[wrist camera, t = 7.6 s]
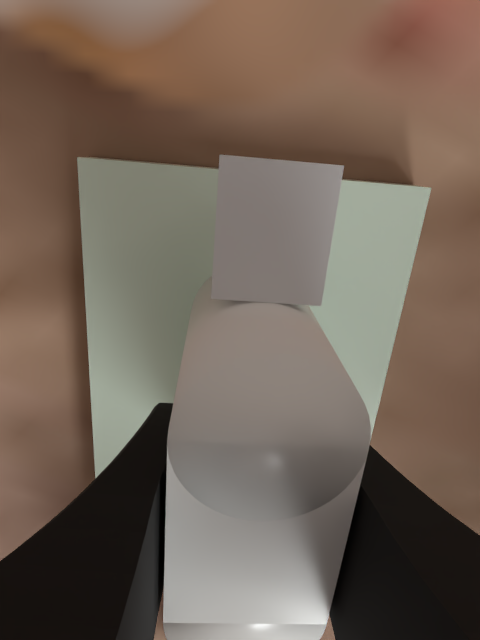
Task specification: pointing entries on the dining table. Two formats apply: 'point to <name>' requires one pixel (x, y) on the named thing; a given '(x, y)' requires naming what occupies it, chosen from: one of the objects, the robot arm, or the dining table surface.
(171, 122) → the dining table surface
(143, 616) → the robot arm
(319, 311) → the pale green rectangular panel
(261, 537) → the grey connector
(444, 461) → the dining table surface
